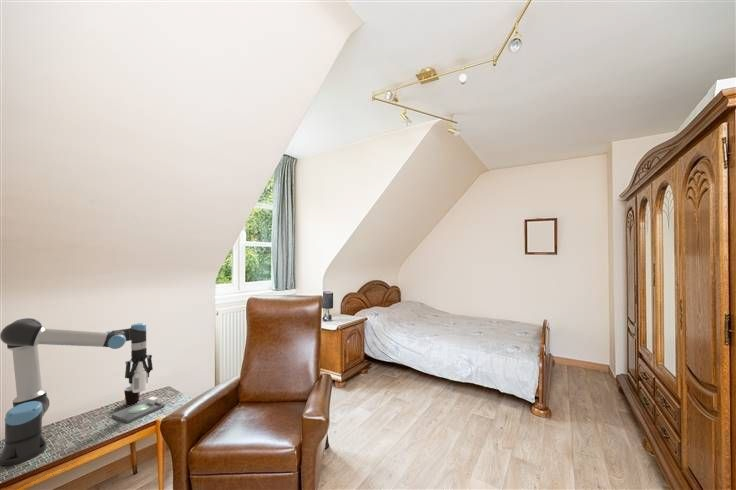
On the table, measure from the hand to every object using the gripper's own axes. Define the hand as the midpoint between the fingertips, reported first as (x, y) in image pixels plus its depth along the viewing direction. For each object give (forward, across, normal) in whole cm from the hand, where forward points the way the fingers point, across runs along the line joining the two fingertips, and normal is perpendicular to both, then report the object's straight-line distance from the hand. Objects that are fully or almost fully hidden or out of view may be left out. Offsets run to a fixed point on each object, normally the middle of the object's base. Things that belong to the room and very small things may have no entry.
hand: (139, 385), depth 181 cm
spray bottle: (+3, 0, 0) cm, 3 cm away
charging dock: (+16, 0, 0) cm, 16 cm away
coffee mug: (+16, +6, +17) cm, 24 cm away
